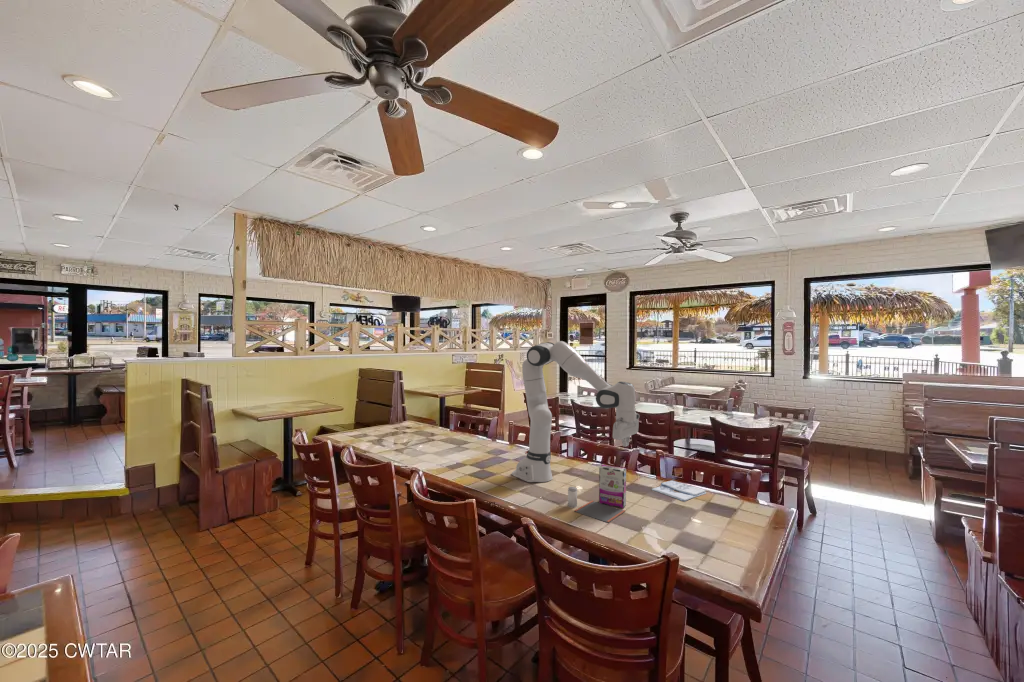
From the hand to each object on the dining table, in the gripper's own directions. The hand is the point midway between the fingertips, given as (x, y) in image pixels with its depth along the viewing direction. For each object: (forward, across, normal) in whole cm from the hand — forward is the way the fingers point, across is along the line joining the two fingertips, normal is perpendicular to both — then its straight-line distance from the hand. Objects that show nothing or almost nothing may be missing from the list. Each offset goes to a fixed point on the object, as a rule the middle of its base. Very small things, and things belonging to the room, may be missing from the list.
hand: (625, 445), depth 191 cm
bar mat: (+24, -24, 0) cm, 33 cm away
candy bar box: (+24, -12, 0) cm, 27 cm away
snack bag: (+25, +24, -16) cm, 38 cm away
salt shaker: (+24, -27, +12) cm, 38 cm away
